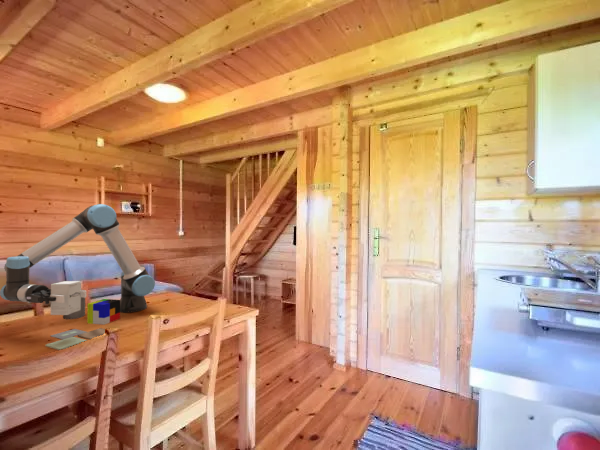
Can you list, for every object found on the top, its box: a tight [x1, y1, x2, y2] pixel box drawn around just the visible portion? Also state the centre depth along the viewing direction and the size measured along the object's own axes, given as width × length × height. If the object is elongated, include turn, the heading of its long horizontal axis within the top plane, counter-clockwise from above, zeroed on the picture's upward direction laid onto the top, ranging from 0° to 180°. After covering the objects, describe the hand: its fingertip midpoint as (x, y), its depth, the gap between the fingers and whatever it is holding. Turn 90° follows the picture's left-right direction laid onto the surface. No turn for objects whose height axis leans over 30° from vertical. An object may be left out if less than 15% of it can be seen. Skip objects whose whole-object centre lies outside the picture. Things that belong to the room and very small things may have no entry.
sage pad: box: [45, 336, 88, 351], centre depth 125 cm, size 10×10×1 cm
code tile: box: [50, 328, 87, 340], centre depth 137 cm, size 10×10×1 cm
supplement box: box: [50, 280, 82, 316], centre depth 126 cm, size 7×7×13 cm
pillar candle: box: [62, 289, 86, 320], centre depth 163 cm, size 10×10×15 cm
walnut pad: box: [77, 327, 106, 340], centre depth 136 cm, size 10×10×1 cm
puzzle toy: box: [86, 298, 121, 325], centre depth 156 cm, size 10×10×10 cm
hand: (74, 296), depth 124 cm, fingers closed on supplement box, 9 cm apart
